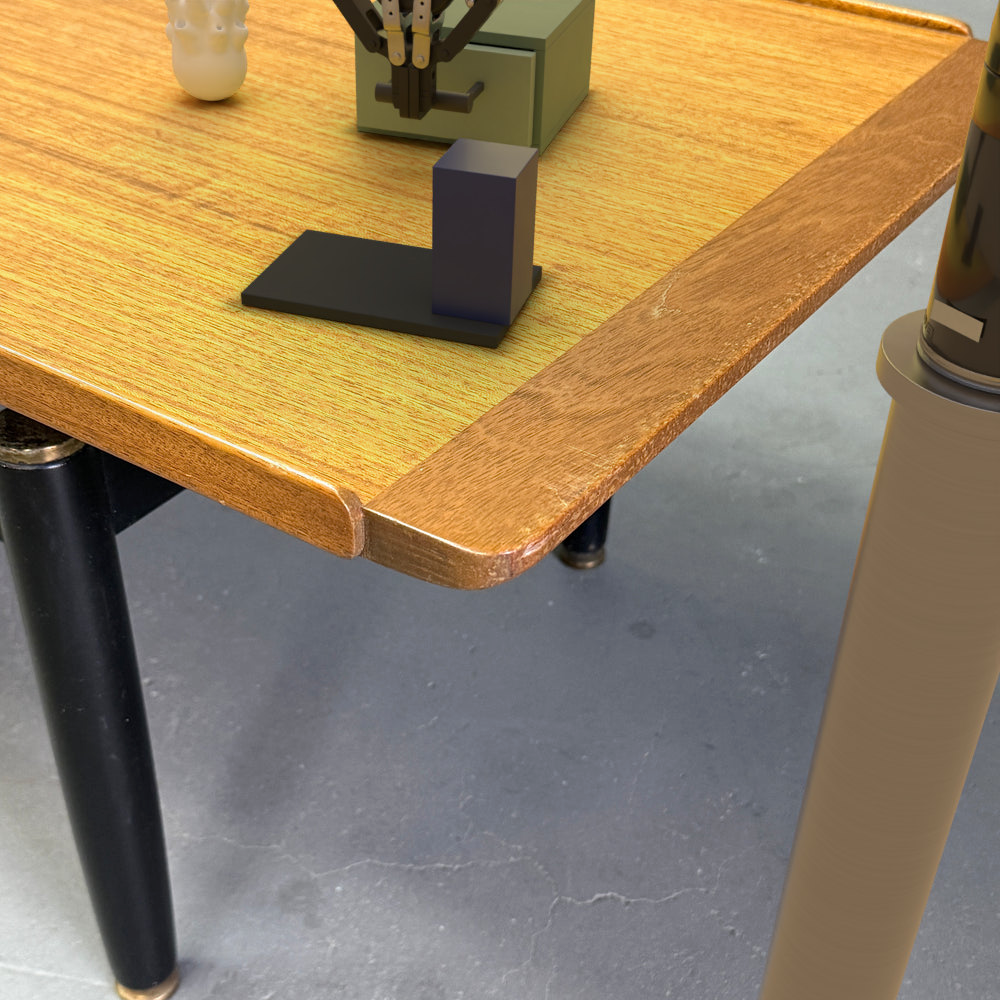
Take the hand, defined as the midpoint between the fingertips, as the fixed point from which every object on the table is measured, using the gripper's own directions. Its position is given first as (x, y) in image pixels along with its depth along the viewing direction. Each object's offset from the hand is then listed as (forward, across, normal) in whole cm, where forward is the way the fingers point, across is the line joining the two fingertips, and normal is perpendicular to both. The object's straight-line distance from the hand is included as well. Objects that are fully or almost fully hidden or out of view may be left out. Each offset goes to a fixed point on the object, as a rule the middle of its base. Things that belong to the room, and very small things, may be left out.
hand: (414, 115), depth 98 cm
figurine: (+5, -21, +10) cm, 24 cm away
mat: (+5, +5, -18) cm, 19 cm away
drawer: (+4, 0, +11) cm, 11 cm away
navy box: (+4, +11, -19) cm, 22 cm away
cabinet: (+4, 0, +15) cm, 16 cm away
